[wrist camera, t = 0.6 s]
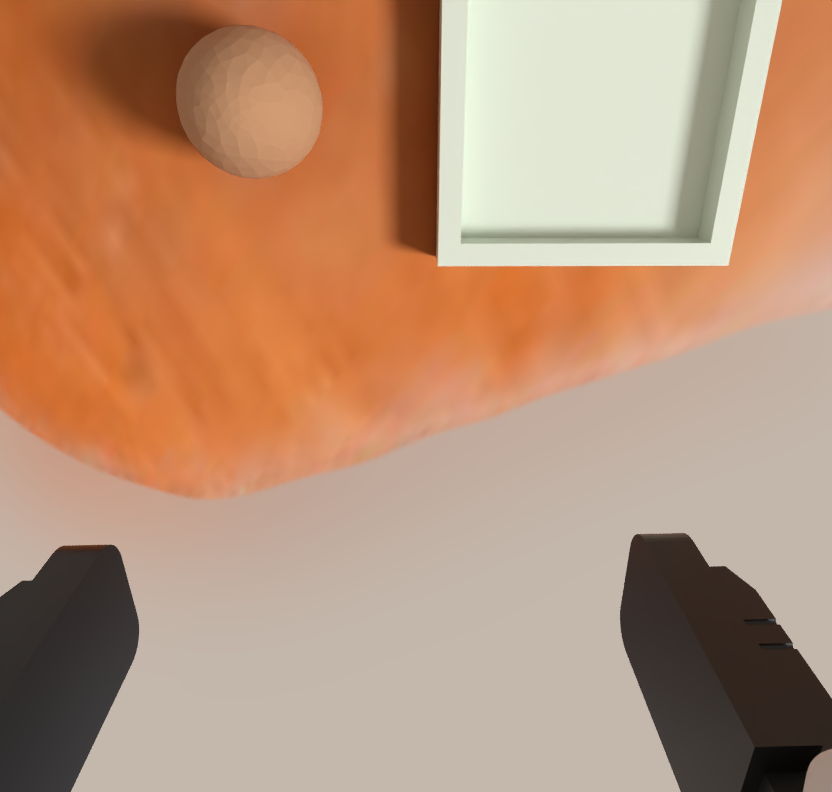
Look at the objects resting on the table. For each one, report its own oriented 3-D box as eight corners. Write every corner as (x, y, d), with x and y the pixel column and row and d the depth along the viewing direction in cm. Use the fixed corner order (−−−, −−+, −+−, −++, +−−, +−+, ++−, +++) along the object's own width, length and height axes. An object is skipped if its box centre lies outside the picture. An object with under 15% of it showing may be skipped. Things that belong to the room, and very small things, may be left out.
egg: (179, 97, 28) (111, 95, 21) (267, 3, 26) (223, -30, 20) (269, 196, 30) (232, 221, 23) (356, 112, 28) (342, 115, 22)
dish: (440, -79, 25) (443, -93, 24) (772, -76, 26) (800, -90, 24) (435, 256, 31) (437, 266, 29) (709, 256, 31) (728, 265, 29)
